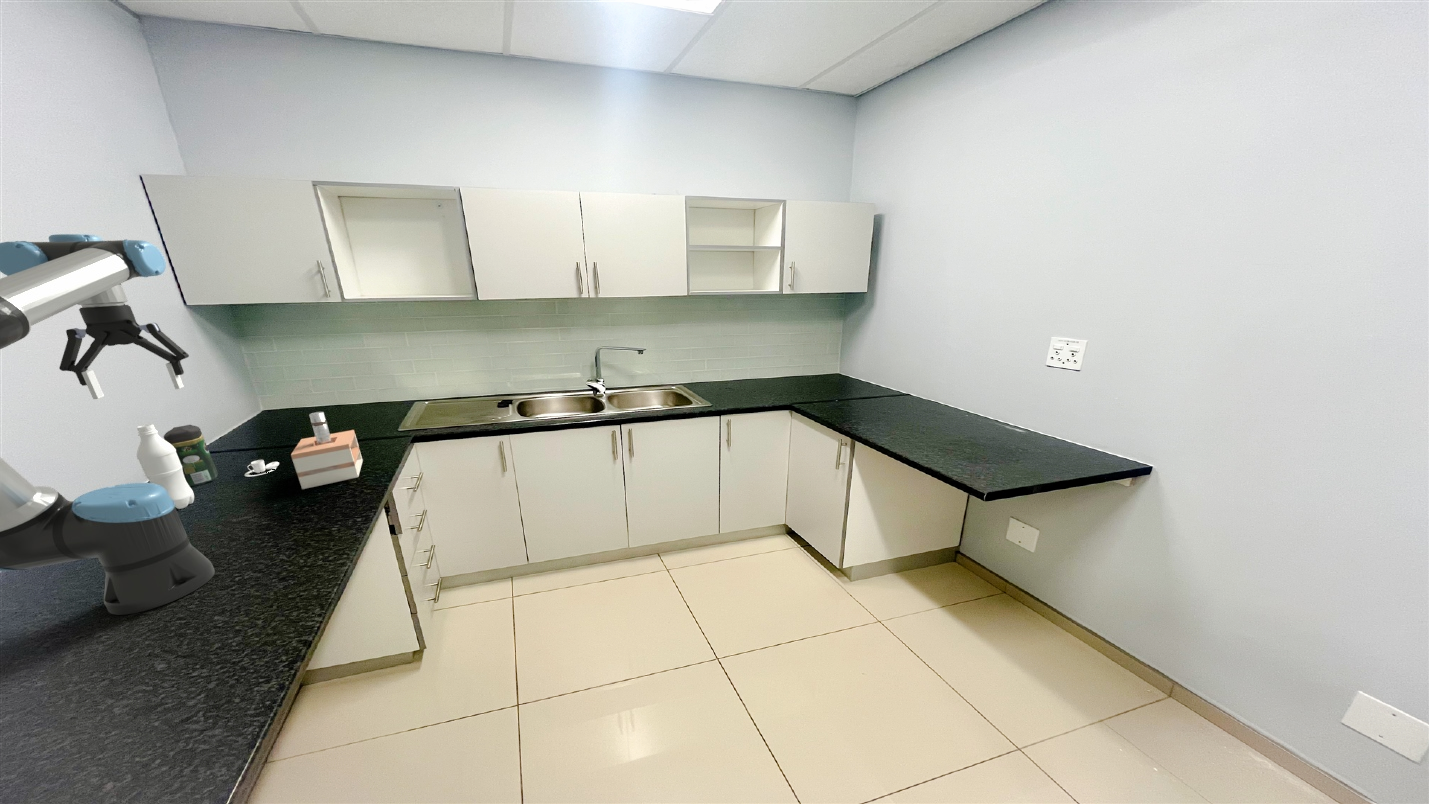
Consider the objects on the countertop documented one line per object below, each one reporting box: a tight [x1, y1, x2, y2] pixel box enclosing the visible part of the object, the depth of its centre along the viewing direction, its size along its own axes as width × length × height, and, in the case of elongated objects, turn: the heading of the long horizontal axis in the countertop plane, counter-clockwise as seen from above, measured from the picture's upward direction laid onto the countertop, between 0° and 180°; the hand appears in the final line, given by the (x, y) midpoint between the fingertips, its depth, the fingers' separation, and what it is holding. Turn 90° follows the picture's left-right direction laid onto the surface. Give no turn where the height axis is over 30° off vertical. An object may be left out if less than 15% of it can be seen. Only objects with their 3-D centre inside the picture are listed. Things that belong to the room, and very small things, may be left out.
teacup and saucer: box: [243, 459, 280, 478], centre depth 157 cm, size 9×8×4 cm
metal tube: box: [308, 411, 332, 445], centre depth 149 cm, size 4×4×20 cm
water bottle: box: [136, 423, 195, 510], centre depth 131 cm, size 7×7×25 cm
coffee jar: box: [163, 424, 219, 487], centre depth 149 cm, size 10×8×19 cm
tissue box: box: [290, 429, 364, 490], centre depth 151 cm, size 16×14×12 cm
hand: (140, 393), depth 114 cm, fingers open, 13 cm apart
